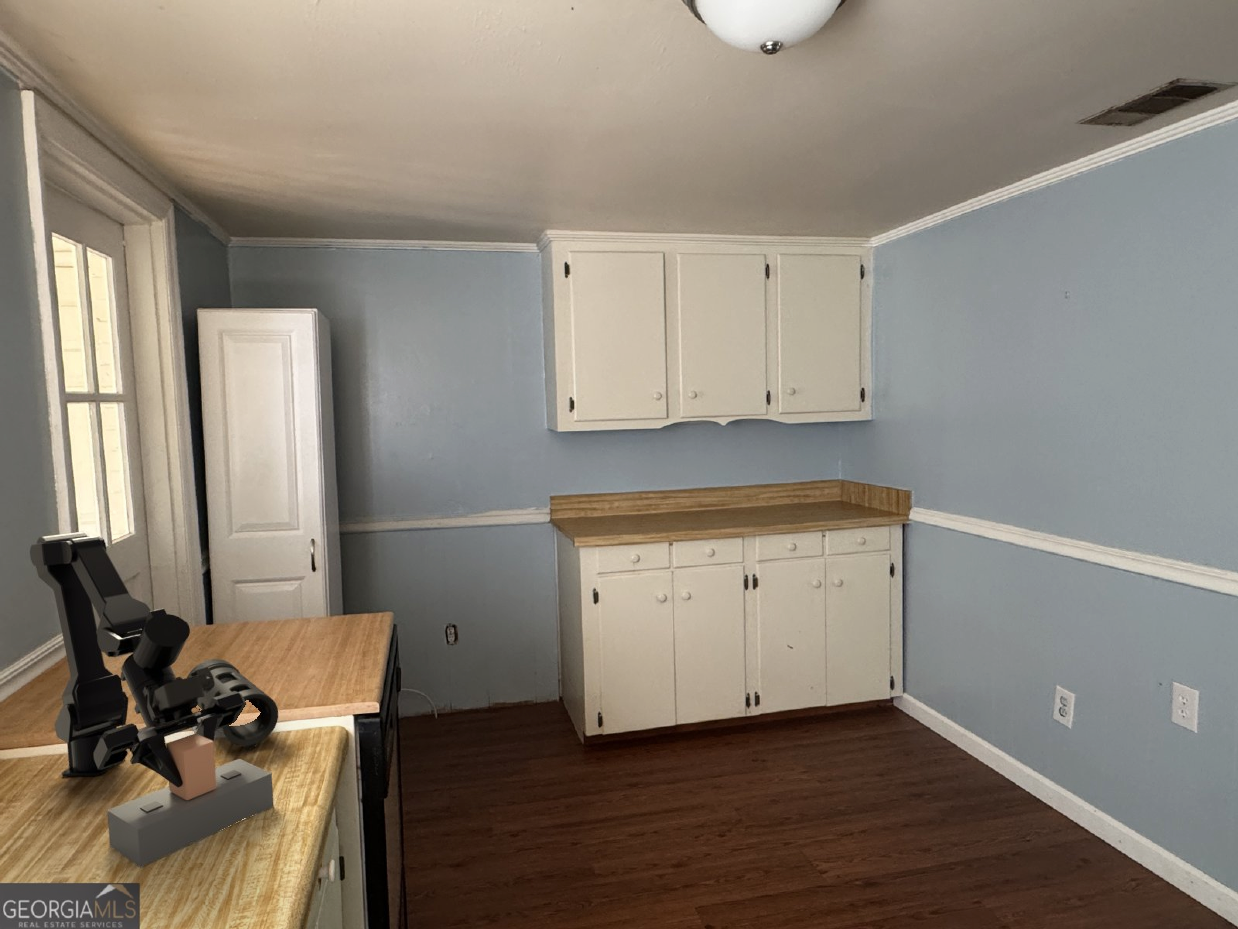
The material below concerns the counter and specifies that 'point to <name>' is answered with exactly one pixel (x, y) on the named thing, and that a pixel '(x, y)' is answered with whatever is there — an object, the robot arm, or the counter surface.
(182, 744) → the plug
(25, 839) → the counter surface
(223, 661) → the muzzle brake
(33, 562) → the robot arm
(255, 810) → the socket block
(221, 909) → the counter surface
